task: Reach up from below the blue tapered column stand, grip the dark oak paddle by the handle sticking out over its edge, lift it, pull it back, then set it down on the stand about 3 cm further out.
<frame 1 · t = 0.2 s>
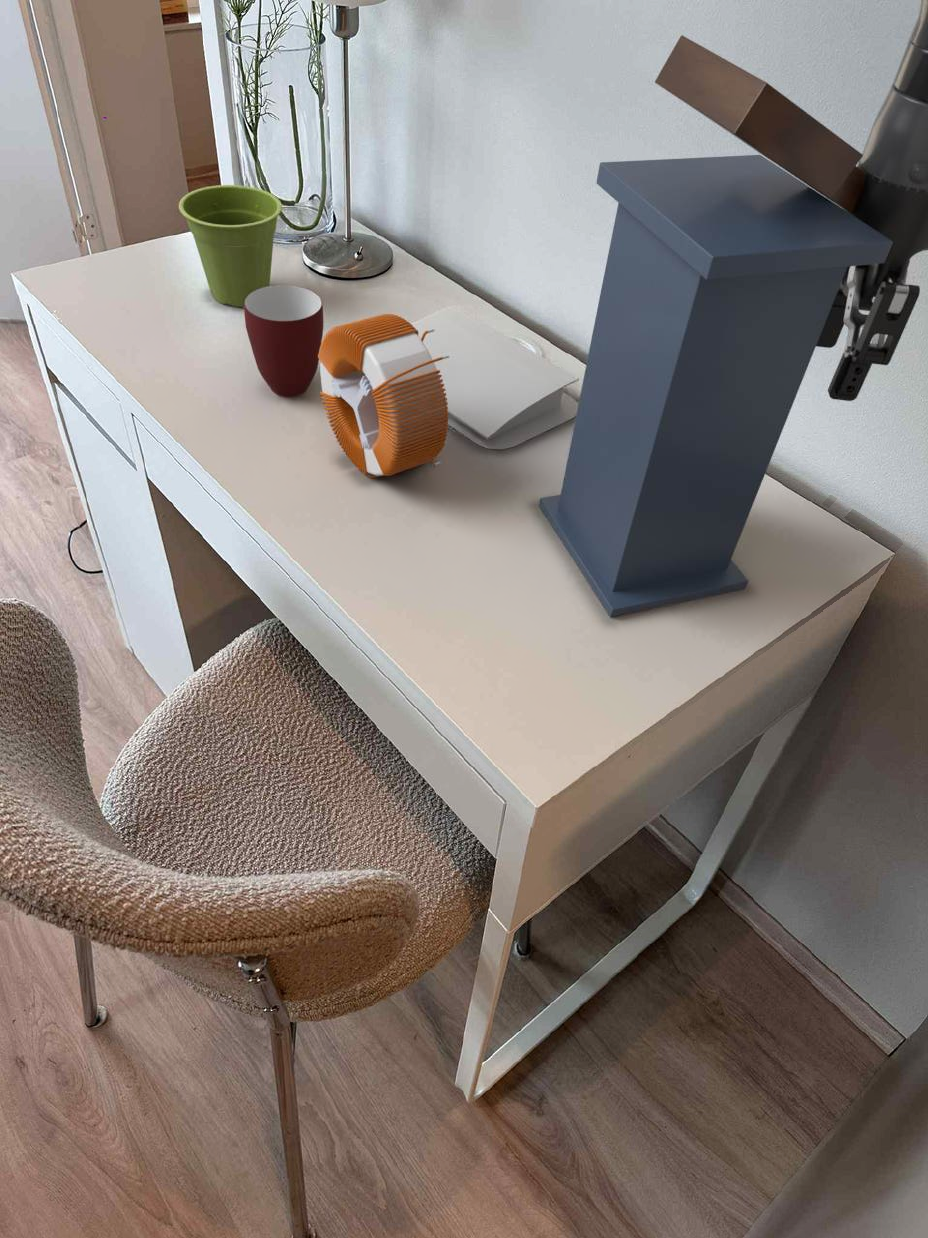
hand: (830, 370, 74), 18 cm above the table, tool pointing down, fingers open, 8 cm apart
coil: (382, 460, 91), on the table
blue tapered column stand: (638, 545, 85), on the table
mug: (284, 384, 100), on the table
paddle: (805, 183, 63), point 33 cm above the table, tilted 25°, touching arm, blue tapered column stand
book: (472, 387, 102), on the table
plant pot: (240, 296, 113), on the table
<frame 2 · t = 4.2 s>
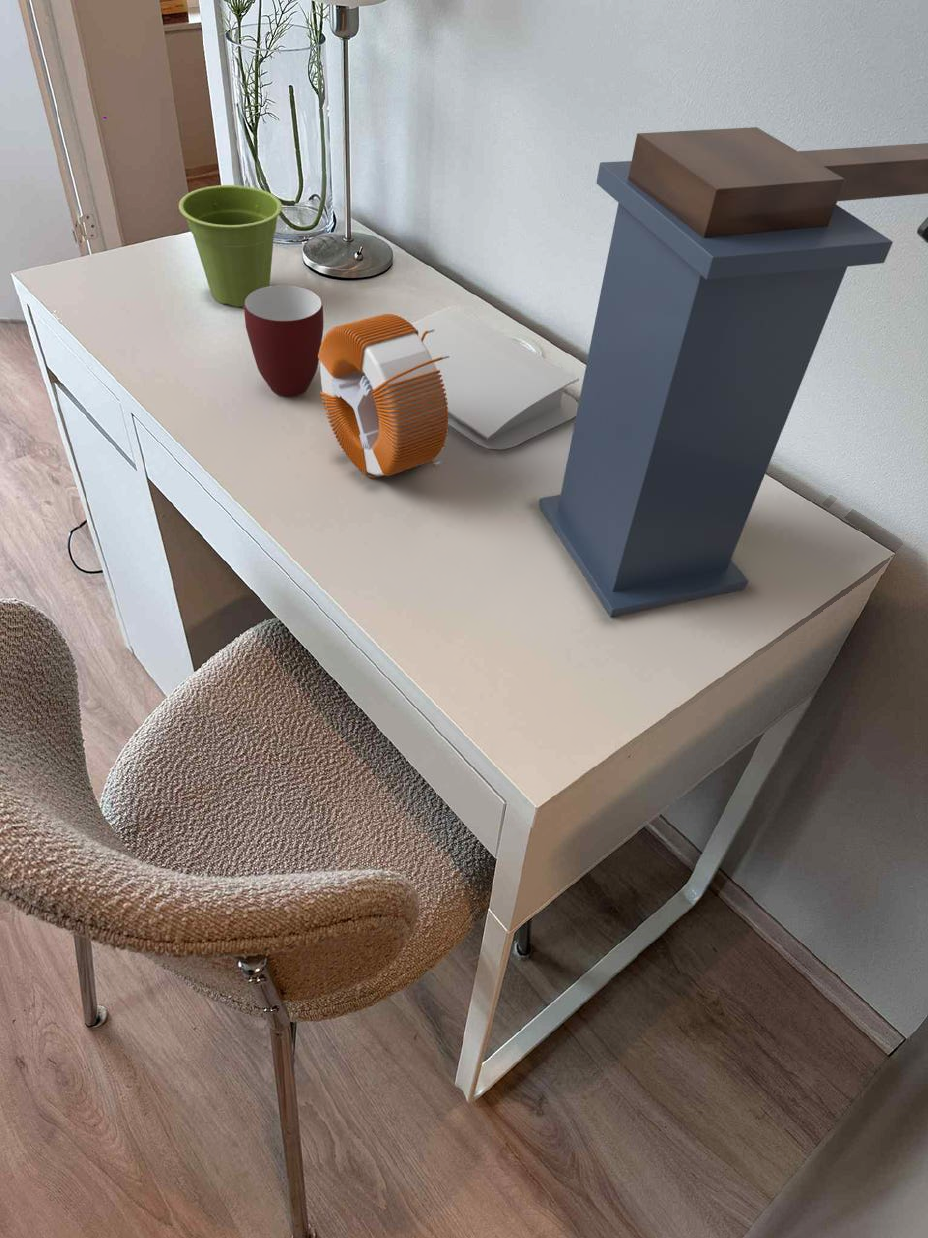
paddle: (807, 194, 63), point 32 cm above the table, touching blue tapered column stand
everything else where it was.
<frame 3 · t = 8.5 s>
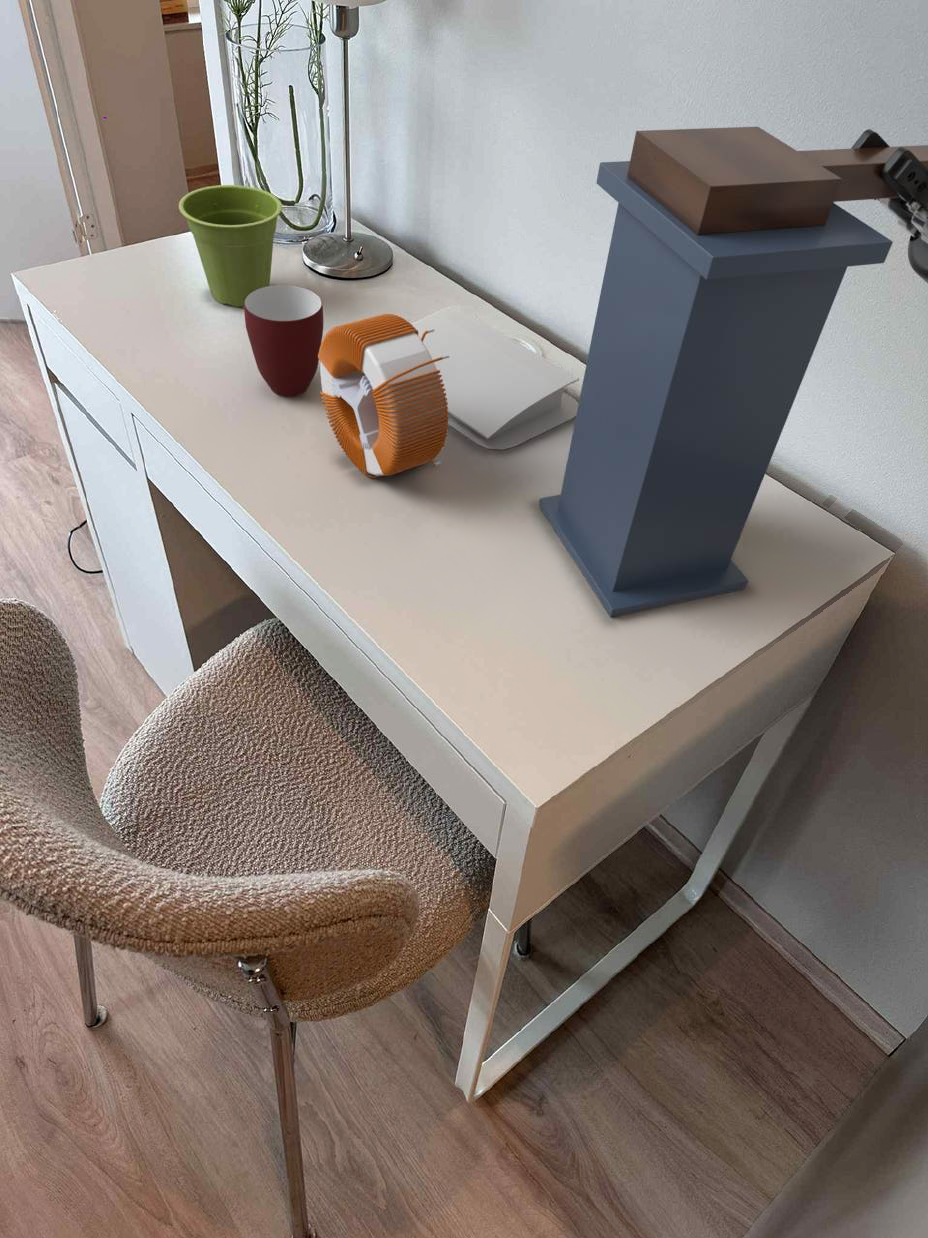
hand: (876, 152, 63), 35 cm above the table, tool pointing upward, fingers closed on paddle, 3 cm apart
paddle: (806, 194, 63), point 32 cm above the table, touching gripper, blue tapered column stand
everything else where it was.
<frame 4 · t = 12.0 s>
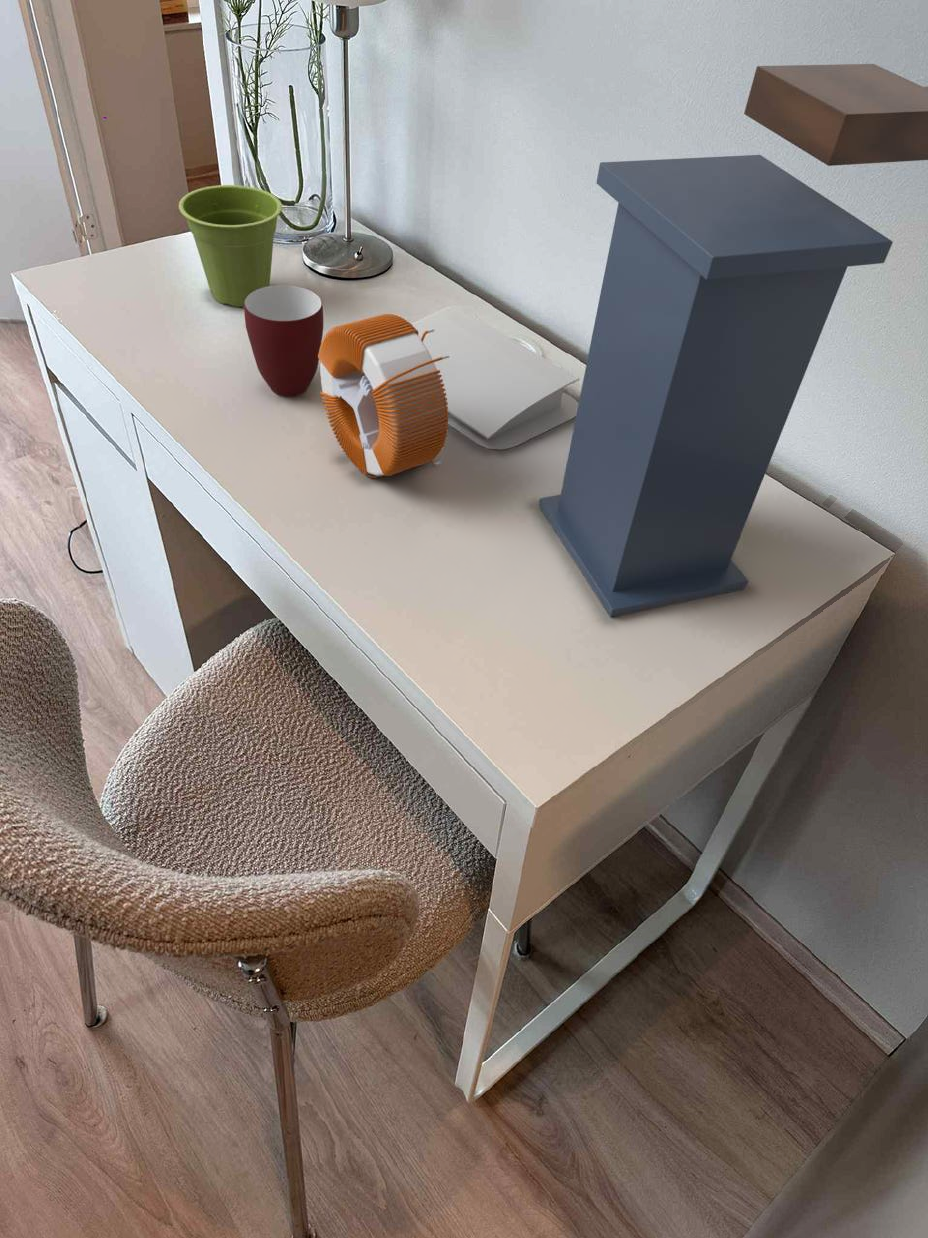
paddle: (923, 131, 63), point 36 cm above the table, touching gripper
everything else where it was.
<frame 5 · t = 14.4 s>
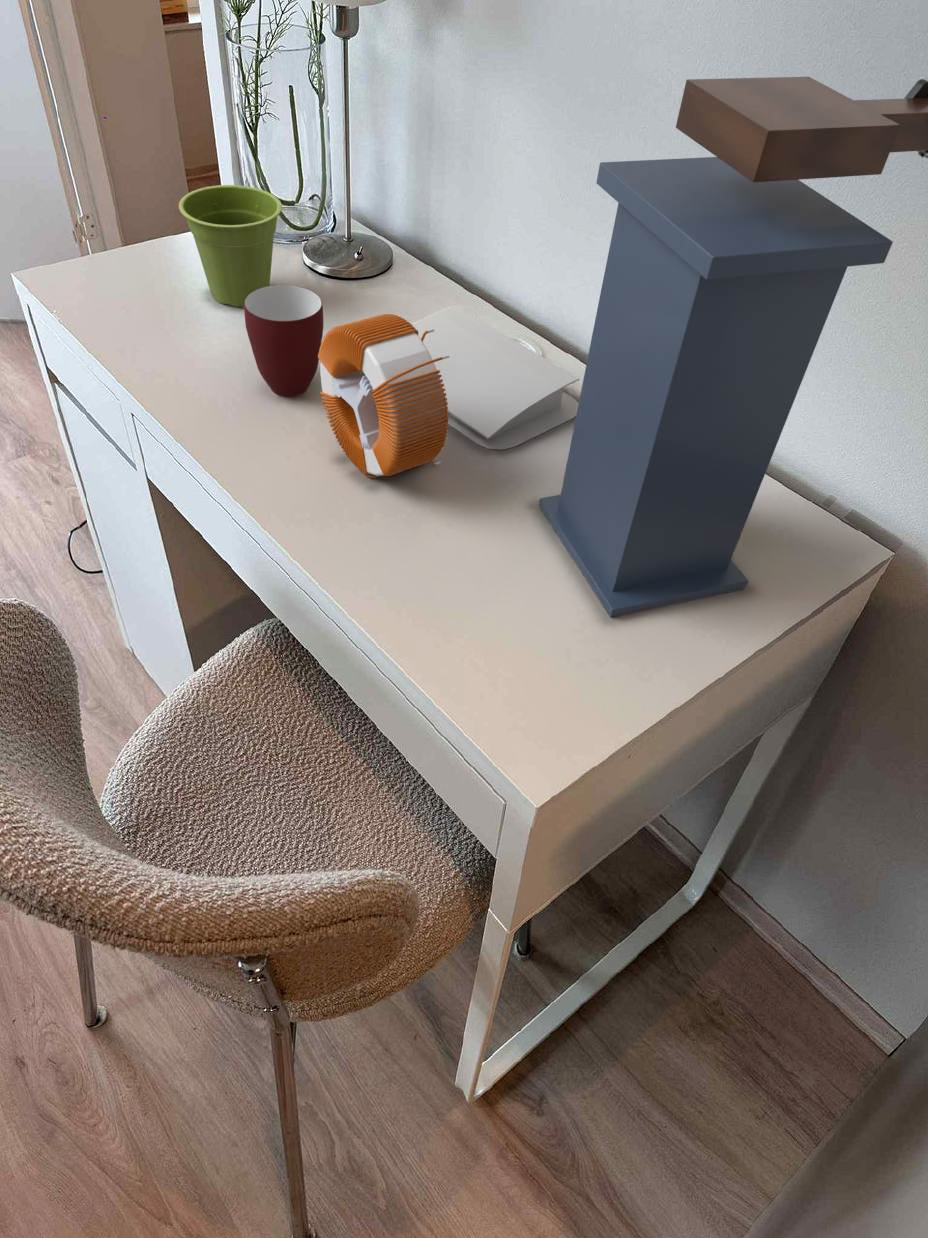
paddle: (859, 146, 62), point 35 cm above the table, touching gripper
everything else where it was.
when the fingers open (35 cm above the table, at t = 15.8 s): paddle stays where it is, resting on blue tapered column stand.
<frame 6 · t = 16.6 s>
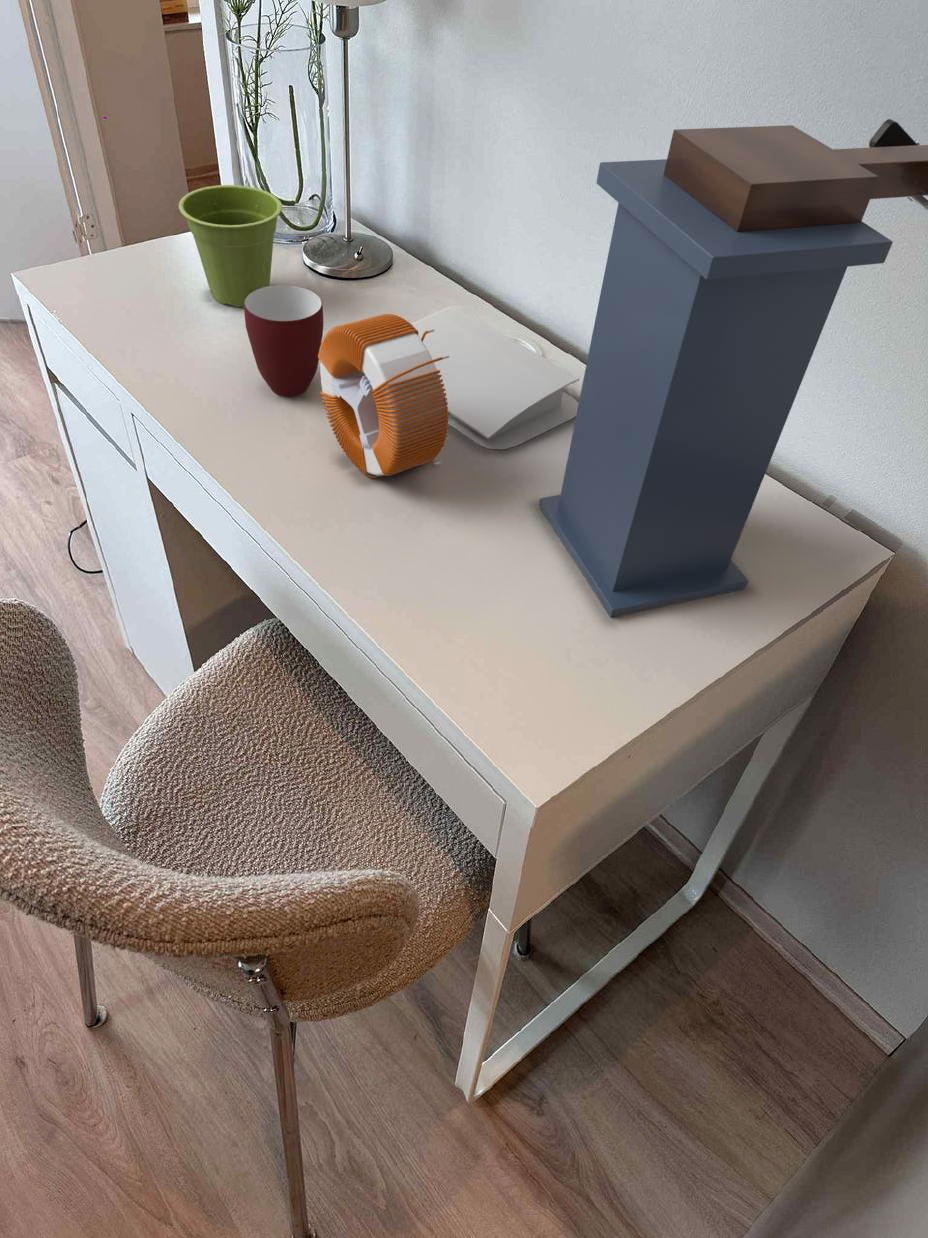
hand: (918, 152, 64), 35 cm above the table, tool pointing upward, fingers open, 8 cm apart
paddle: (840, 192, 64), point 32 cm above the table, touching blue tapered column stand
everything else where it was.
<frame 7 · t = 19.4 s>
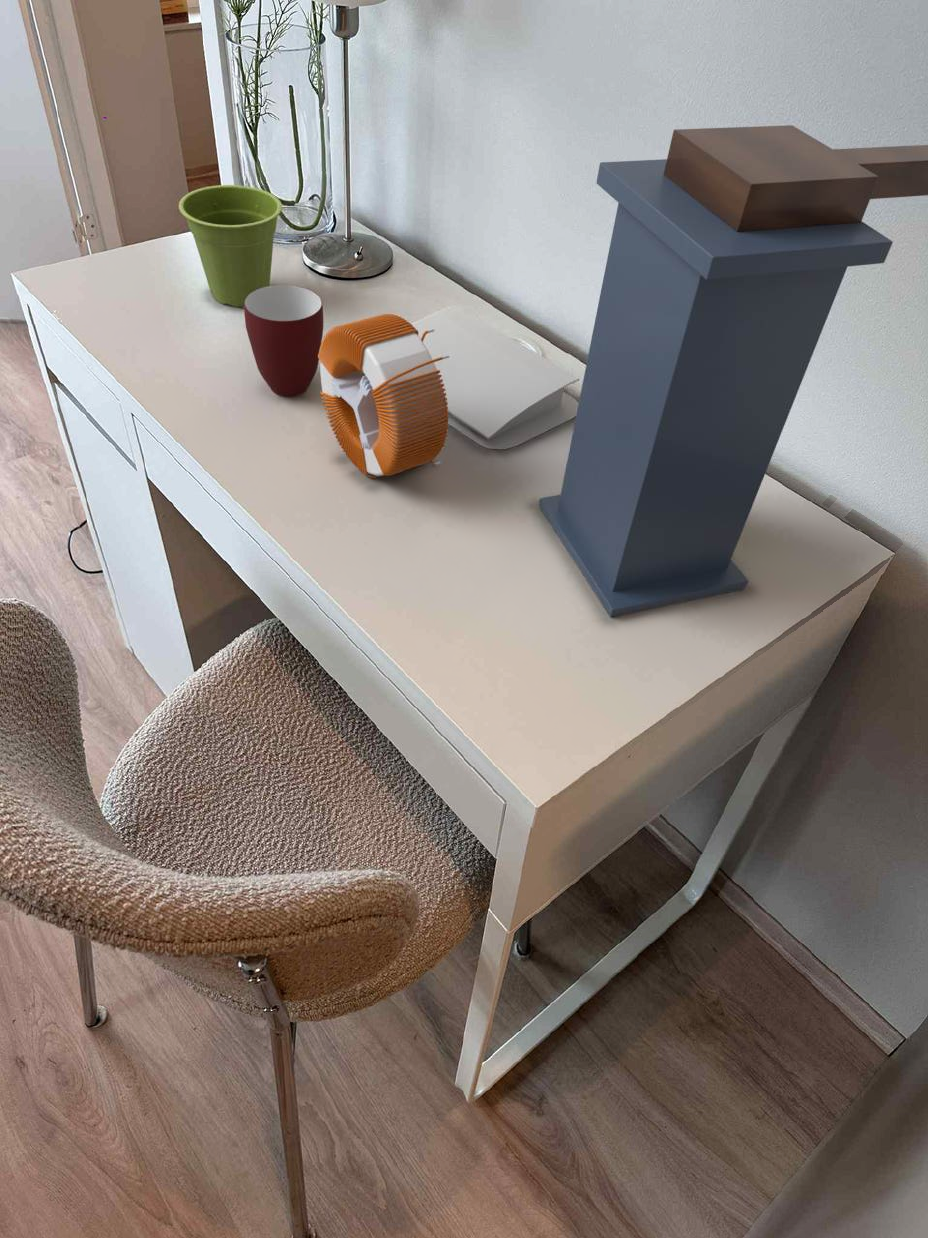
nothing on the table moved.
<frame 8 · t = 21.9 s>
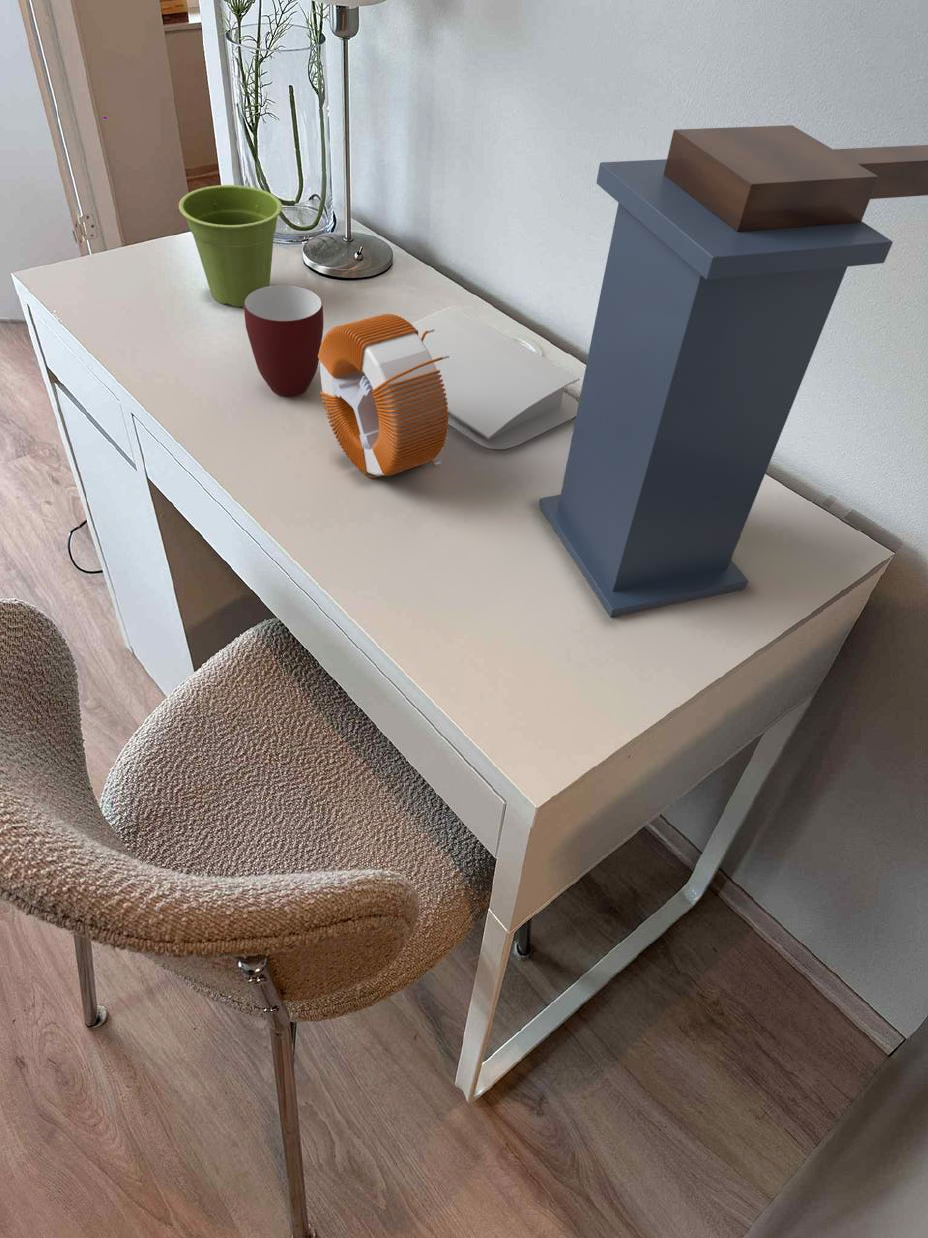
nothing on the table moved.
at the end: paddle moved 3.7 cm from its start; paddle 0.3 cm from the target spot on the blue tapered column stand, point 32.0 cm above the blue tapered column stand's base; plant pot moved 0.2 cm from its start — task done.
